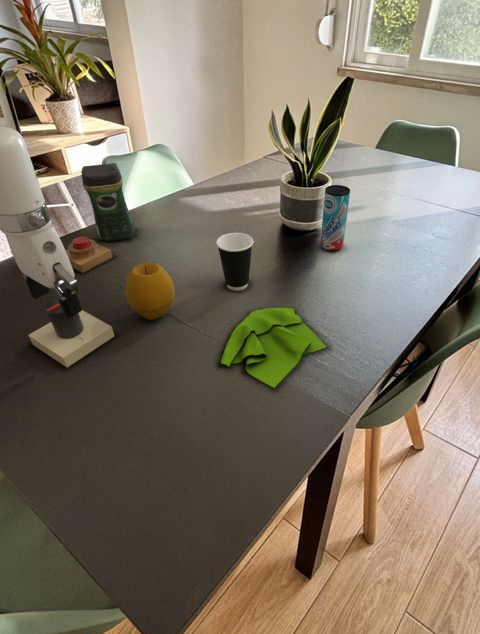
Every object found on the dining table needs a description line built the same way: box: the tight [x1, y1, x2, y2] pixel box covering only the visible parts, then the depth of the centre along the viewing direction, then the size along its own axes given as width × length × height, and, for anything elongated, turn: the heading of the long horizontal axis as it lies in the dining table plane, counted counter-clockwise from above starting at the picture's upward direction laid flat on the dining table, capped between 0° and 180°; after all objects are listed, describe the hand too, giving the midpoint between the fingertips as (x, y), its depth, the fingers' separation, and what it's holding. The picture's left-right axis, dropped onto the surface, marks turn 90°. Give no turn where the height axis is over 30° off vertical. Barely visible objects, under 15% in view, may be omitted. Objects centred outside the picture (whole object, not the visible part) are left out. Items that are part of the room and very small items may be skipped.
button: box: [72, 236, 90, 250], centre depth 104 cm, size 4×4×2 cm
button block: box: [65, 238, 113, 274], centre depth 106 cm, size 9×9×4 cm
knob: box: [45, 297, 84, 339], centre depth 80 cm, size 5×5×6 cm
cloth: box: [220, 307, 328, 389], centre depth 82 cm, size 20×22×2 cm
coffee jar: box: [80, 162, 136, 242], centre depth 110 cm, size 10×8×19 cm
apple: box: [124, 262, 176, 320], centre depth 86 cm, size 10×10×12 cm
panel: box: [27, 309, 115, 368], centre depth 83 cm, size 11×11×3 cm
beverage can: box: [319, 184, 351, 252], centre depth 106 cm, size 6×6×15 cm
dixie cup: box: [215, 232, 254, 292], centre depth 94 cm, size 8×8×11 cm
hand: (57, 304), depth 78 cm, fingers open, 9 cm apart
